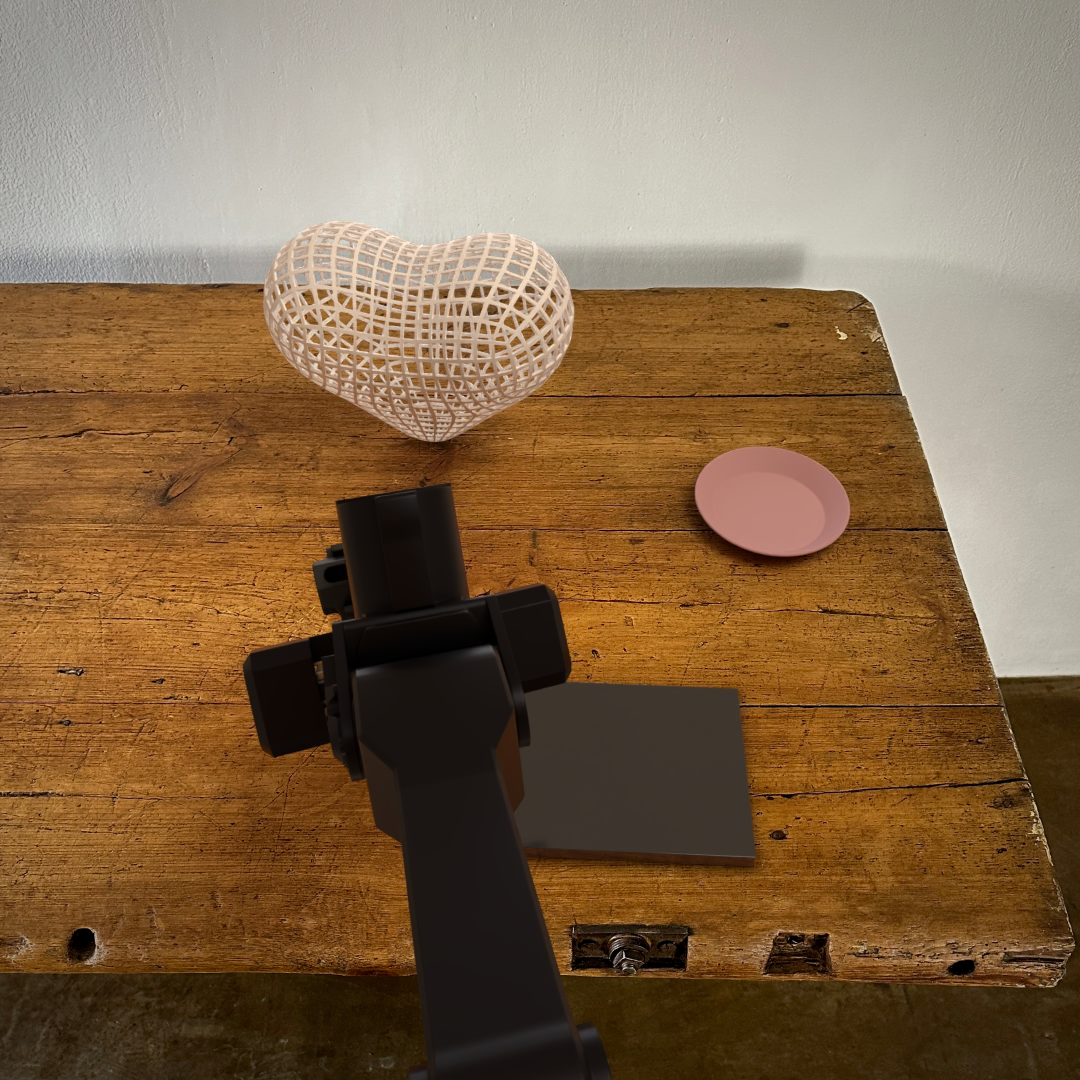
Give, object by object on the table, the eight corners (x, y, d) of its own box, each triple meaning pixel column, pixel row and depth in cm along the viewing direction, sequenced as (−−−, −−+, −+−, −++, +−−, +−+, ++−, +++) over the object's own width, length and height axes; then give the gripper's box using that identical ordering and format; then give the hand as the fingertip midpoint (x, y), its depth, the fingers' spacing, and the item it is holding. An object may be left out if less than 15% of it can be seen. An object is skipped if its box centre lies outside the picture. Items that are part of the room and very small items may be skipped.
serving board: (752, 867, 68) (756, 857, 67) (470, 854, 69) (469, 844, 68) (735, 698, 78) (737, 688, 77) (486, 688, 78) (485, 678, 77)
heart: (275, 476, 95) (221, 278, 79) (321, 377, 105) (281, 184, 89) (559, 505, 92) (564, 307, 76) (577, 401, 103) (585, 207, 86)
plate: (842, 582, 86) (847, 568, 85) (682, 553, 88) (685, 538, 87) (847, 474, 95) (852, 459, 94) (702, 450, 98) (705, 435, 96)
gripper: (560, 498, 52) (509, 505, 68) (205, 575, 49) (236, 564, 64) (602, 698, 53) (542, 661, 68) (255, 789, 49) (274, 728, 64)
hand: (402, 650), depth 66 cm, fingers closed on ice cream cone, 5 cm apart
